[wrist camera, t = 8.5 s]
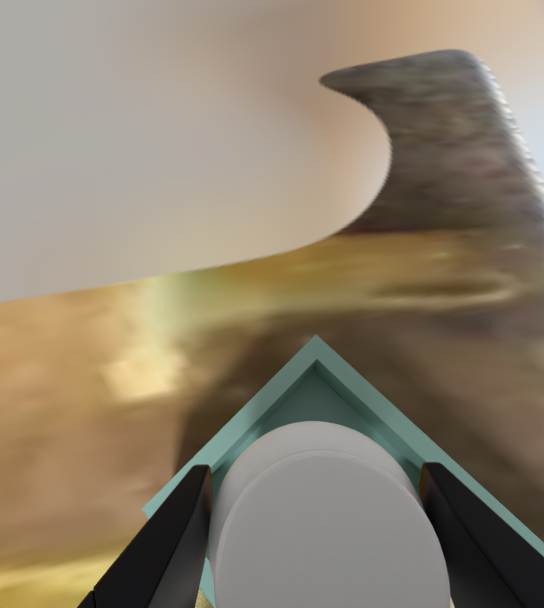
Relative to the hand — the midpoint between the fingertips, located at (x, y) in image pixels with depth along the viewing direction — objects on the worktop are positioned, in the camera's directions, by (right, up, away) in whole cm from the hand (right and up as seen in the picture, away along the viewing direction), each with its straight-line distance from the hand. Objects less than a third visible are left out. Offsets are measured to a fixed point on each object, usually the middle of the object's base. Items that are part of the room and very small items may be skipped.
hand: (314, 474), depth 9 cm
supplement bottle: (0, -4, +6) cm, 7 cm away
